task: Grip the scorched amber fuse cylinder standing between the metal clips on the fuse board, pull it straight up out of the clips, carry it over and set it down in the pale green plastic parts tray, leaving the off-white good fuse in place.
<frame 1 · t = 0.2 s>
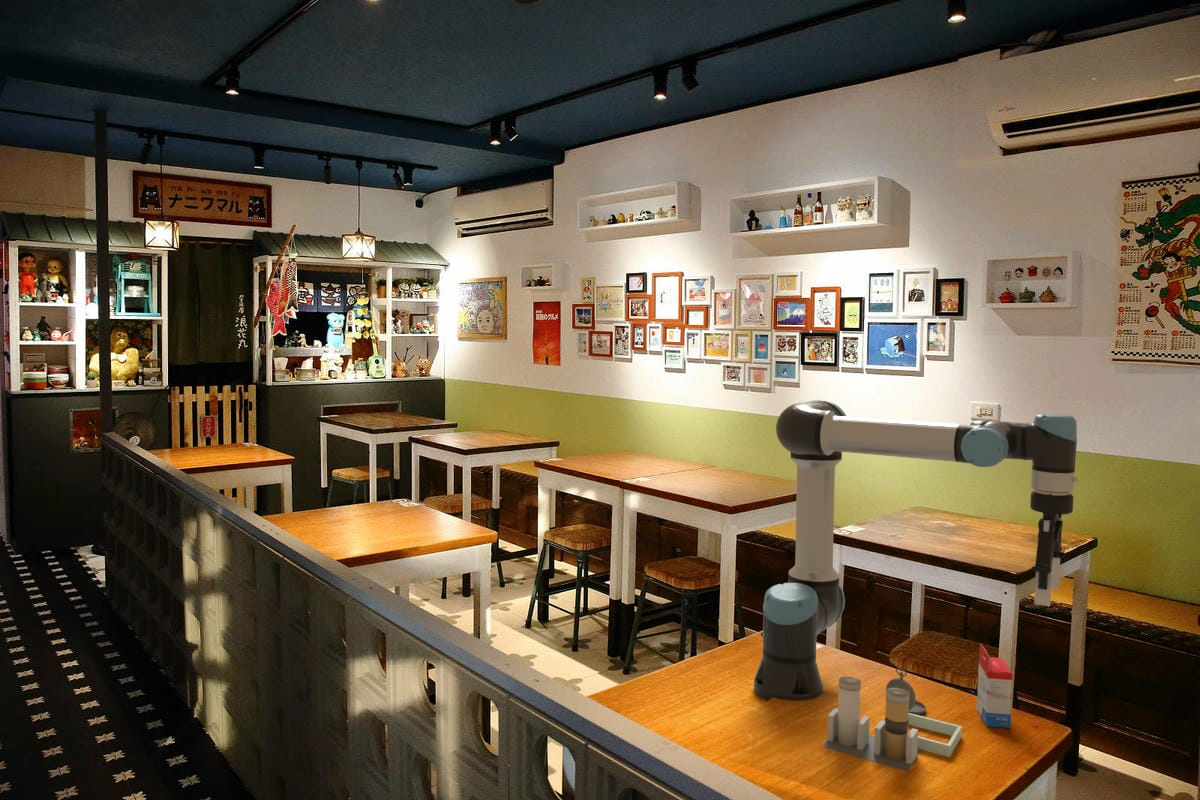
hand: (1046, 596, 169), 28 cm above the table, fingers open, 13 cm apart
good fuse: (847, 741, 162), point 1 cm above the table, touching fuse board
ink box: (993, 719, 176), on the table
parts tray: (922, 745, 164), on the table
blown fuse: (895, 754, 157), point 1 cm above the table, touching fuse board
pocket watch: (905, 711, 180), on the table
fuse board: (871, 755, 160), on the table
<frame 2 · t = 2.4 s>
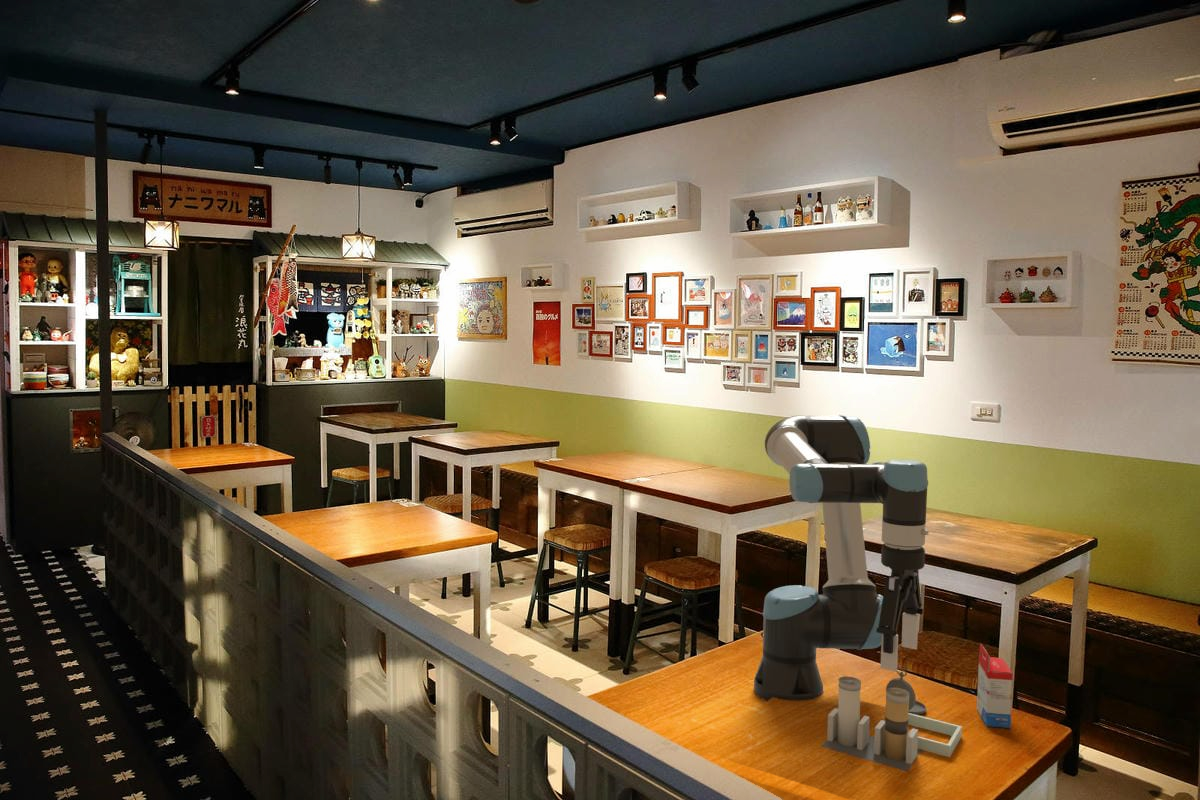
hand: (899, 658, 156), 20 cm above the table, fingers open, 13 cm apart
nothing on the table moved.
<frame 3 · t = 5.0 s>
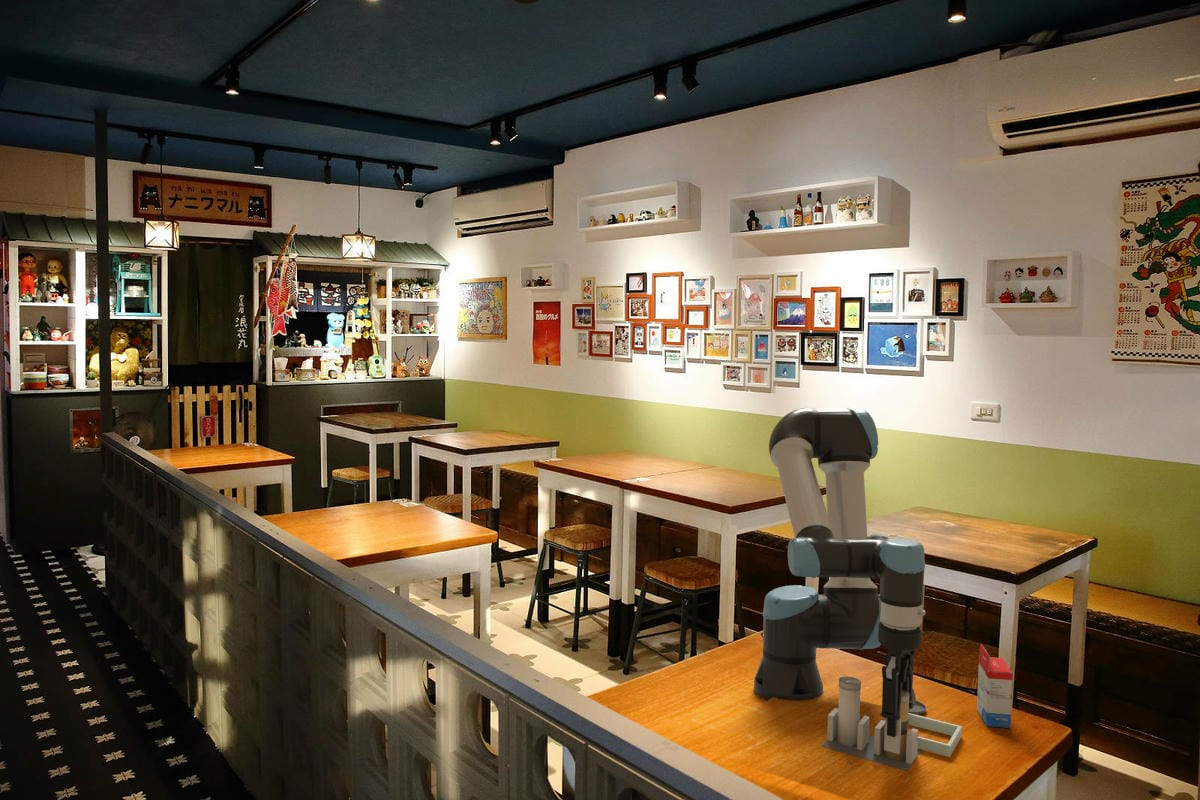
hand: (895, 746, 157), 3 cm above the table, fingers closed on blown fuse, 4 cm apart
blown fuse: (895, 754, 157), point 1 cm above the table, touching fuse board, gripper
everything else where it was.
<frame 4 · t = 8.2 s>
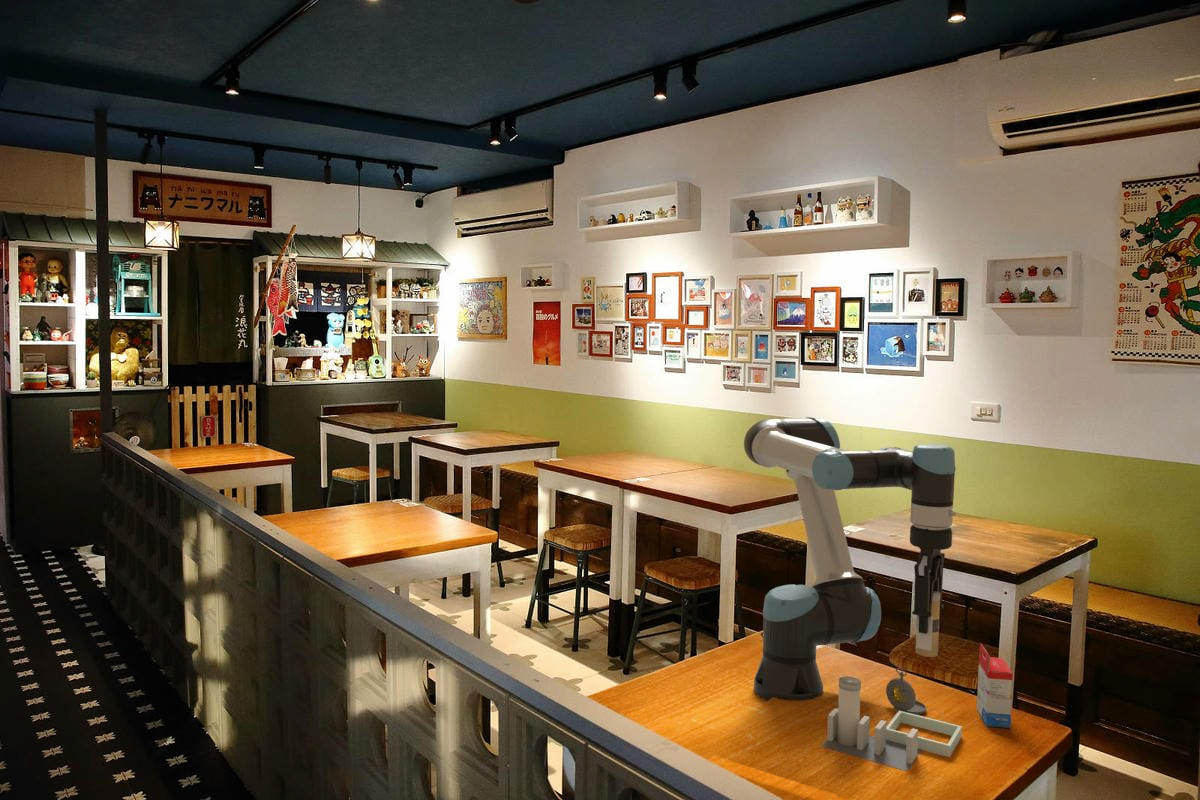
hand: (926, 644, 163), 20 cm above the table, fingers closed on blown fuse, 4 cm apart
blown fuse: (926, 653, 163), point 18 cm above the table, touching gripper
everything else where it was.
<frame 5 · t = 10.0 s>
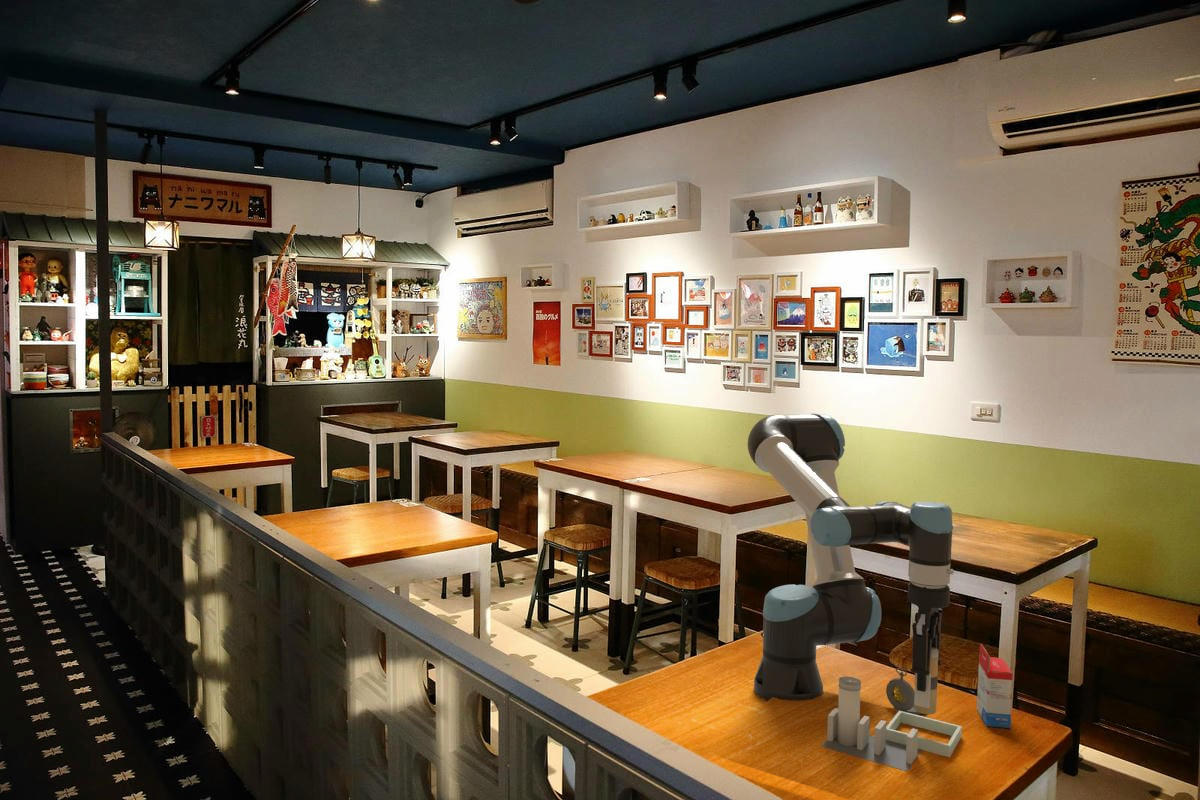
hand: (925, 701, 163), 9 cm above the table, fingers closed on blown fuse, 4 cm apart
blown fuse: (925, 709, 164), point 7 cm above the table, touching gripper
everything else where it was.
when the fingers open (5 cm above the table, at t = 11.6 s): blown fuse drops 2 cm, resting on parts tray.
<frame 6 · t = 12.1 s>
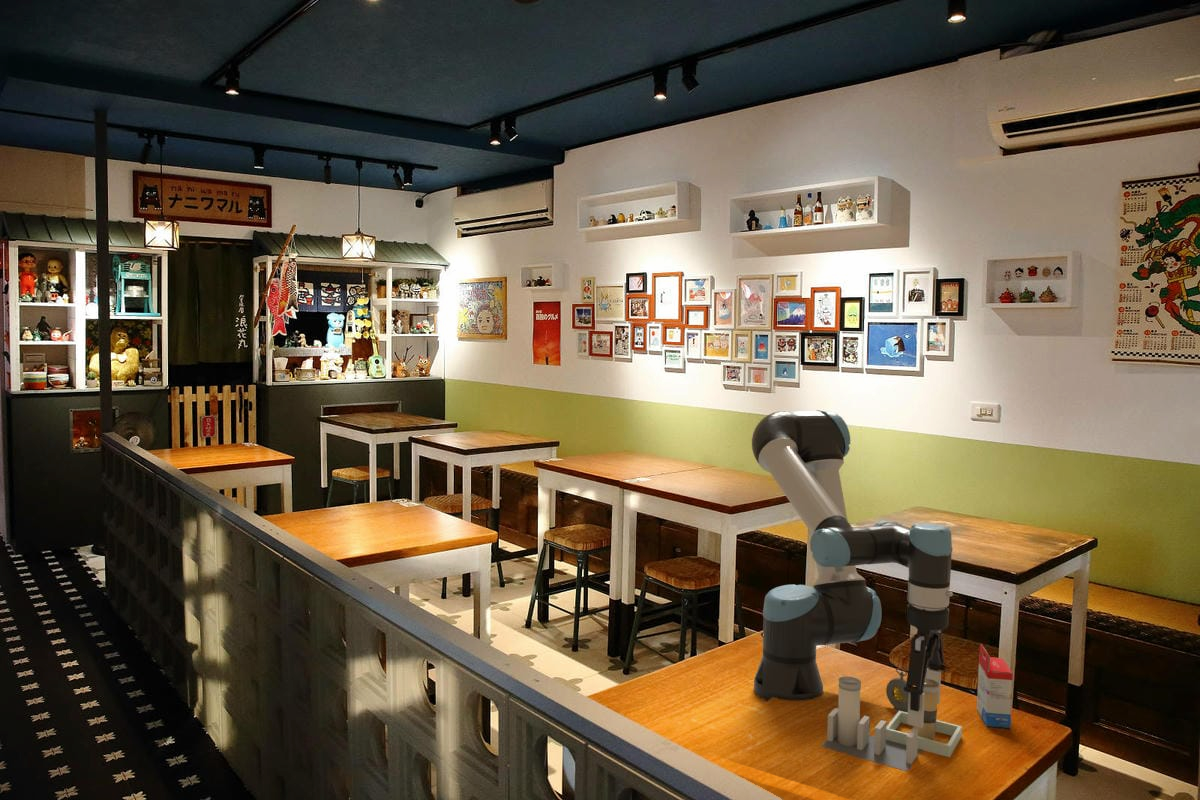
hand: (924, 713, 164), 6 cm above the table, fingers open, 12 cm apart
blown fuse: (923, 741, 164), point 1 cm above the table, touching parts tray
everything else where it was.
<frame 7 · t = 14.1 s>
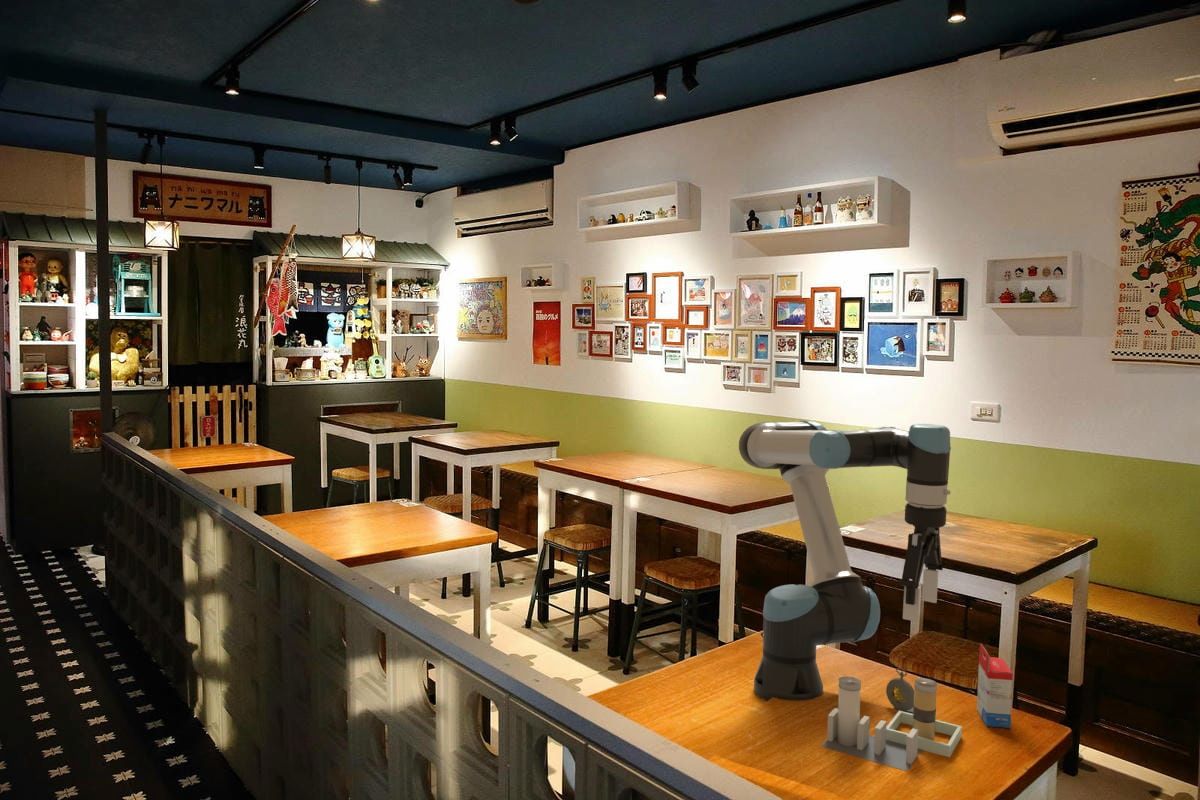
hand: (920, 610, 166), 26 cm above the table, fingers open, 13 cm apart
nothing on the table moved.
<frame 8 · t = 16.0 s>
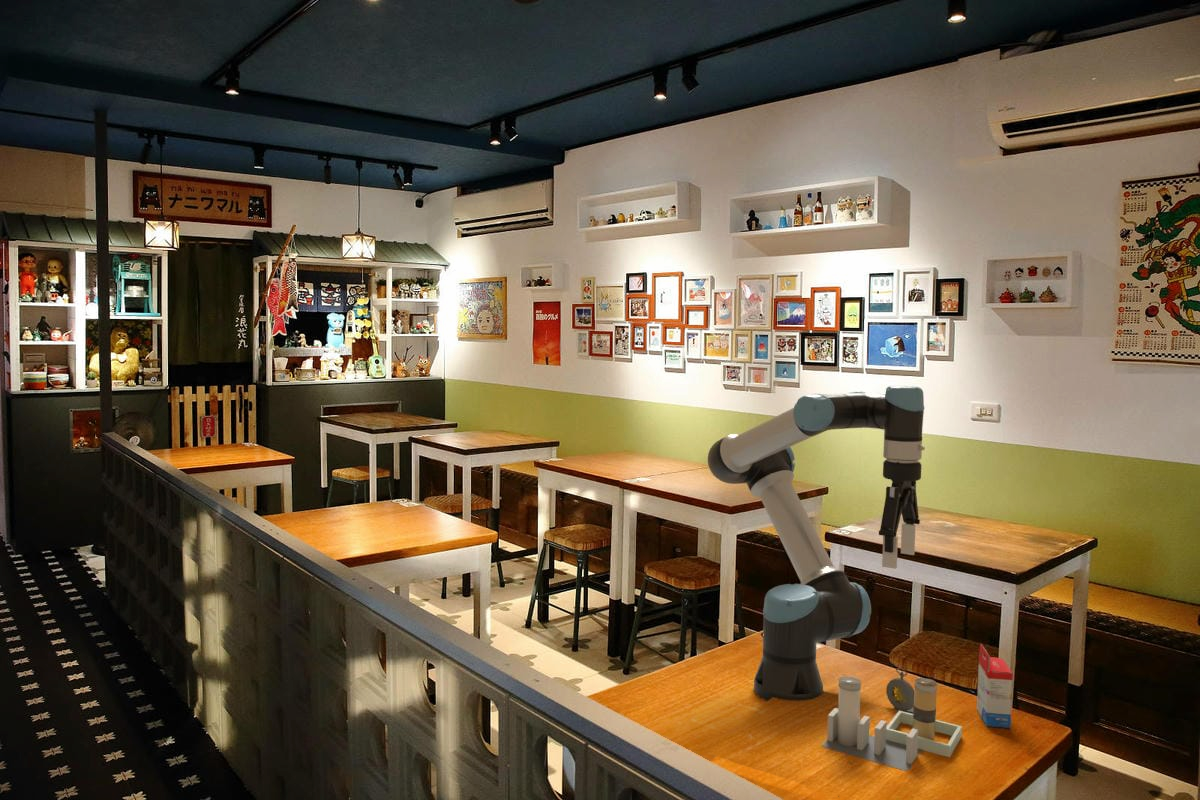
hand: (898, 560, 177), 33 cm above the table, fingers open, 13 cm apart
nothing on the table moved.
at the end: blown fuse inside the target area on the parts tray (0.2 cm from its centre), point 0.6 cm above the parts tray's base; the gripper is holding nothing; good fuse moved 0.0 cm from its start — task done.
